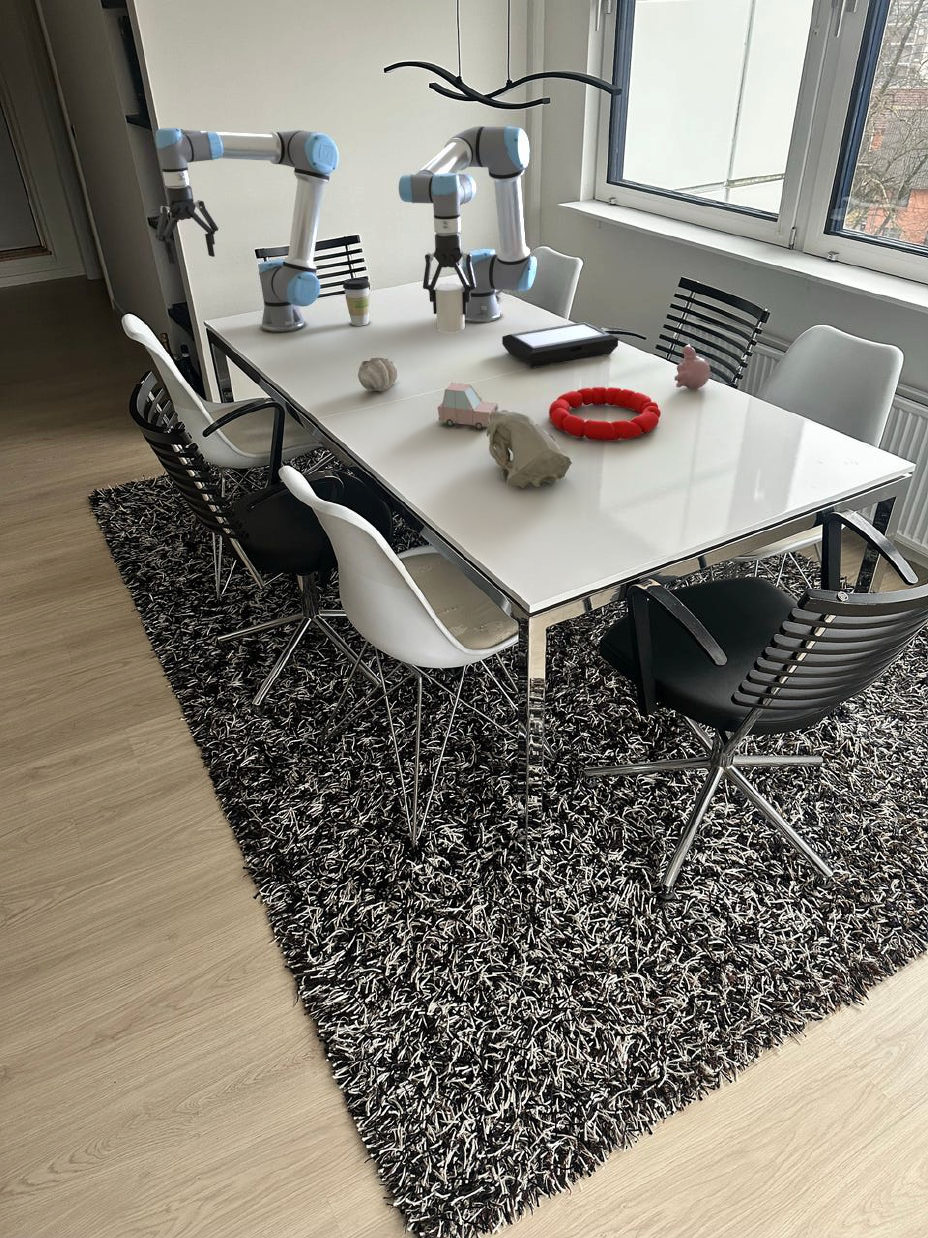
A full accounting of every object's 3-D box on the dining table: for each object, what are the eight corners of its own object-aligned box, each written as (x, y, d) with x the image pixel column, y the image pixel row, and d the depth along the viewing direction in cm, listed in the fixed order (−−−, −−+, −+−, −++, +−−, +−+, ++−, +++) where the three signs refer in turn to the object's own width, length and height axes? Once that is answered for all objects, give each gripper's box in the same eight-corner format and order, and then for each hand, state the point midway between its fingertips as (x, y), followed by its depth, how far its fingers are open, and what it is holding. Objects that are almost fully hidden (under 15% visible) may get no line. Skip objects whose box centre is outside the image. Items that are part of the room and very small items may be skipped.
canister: (437, 332, 269) (435, 290, 262) (436, 324, 276) (435, 283, 269) (465, 331, 269) (464, 289, 262) (464, 323, 276) (462, 282, 269)
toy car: (488, 432, 240) (488, 396, 234) (436, 426, 244) (434, 390, 239) (499, 419, 247) (499, 384, 241) (448, 413, 252) (447, 379, 246)
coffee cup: (372, 326, 323) (368, 283, 314) (345, 327, 323) (340, 284, 315) (374, 318, 331) (371, 276, 322) (348, 319, 331) (344, 277, 323)
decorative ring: (589, 435, 224) (684, 402, 234) (527, 398, 247) (617, 369, 256) (589, 461, 229) (683, 427, 238) (529, 422, 251) (617, 393, 260)
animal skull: (496, 517, 219) (521, 479, 201) (463, 429, 225) (484, 384, 207) (557, 503, 225) (586, 465, 206) (523, 417, 231) (549, 373, 212)
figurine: (665, 387, 264) (669, 347, 257) (693, 380, 268) (698, 340, 261) (686, 396, 257) (690, 355, 250) (714, 388, 262) (720, 348, 255)
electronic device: (530, 350, 276) (502, 333, 291) (530, 370, 279) (502, 352, 294) (618, 335, 286) (586, 319, 301) (617, 354, 290) (585, 338, 305)
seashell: (350, 390, 269) (347, 357, 264) (395, 380, 275) (392, 348, 270) (364, 400, 262) (360, 367, 256) (409, 390, 268) (407, 357, 262)
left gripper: (144, 192, 261) (160, 268, 273) (221, 181, 274) (233, 254, 286) (134, 190, 266) (150, 264, 278) (209, 179, 279) (222, 251, 291)
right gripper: (408, 235, 255) (413, 315, 268) (482, 235, 252) (483, 317, 265) (414, 230, 261) (418, 308, 274) (485, 230, 258) (486, 309, 271)
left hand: (192, 259), depth 282 cm, fingers open, 13 cm apart
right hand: (450, 312), depth 270 cm, fingers closed on canister, 8 cm apart
